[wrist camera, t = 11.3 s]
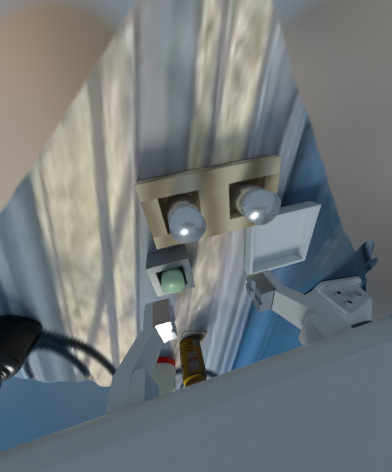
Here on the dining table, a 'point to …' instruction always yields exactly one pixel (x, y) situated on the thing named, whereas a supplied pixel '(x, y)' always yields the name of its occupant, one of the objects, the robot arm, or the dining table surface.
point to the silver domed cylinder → (254, 202)
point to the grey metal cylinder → (185, 219)
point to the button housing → (169, 267)
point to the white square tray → (280, 238)
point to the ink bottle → (16, 343)
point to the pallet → (205, 194)
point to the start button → (172, 280)
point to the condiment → (192, 357)
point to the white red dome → (164, 375)
